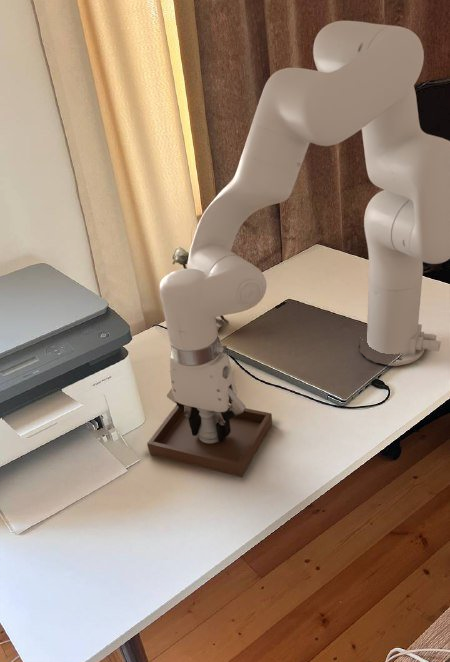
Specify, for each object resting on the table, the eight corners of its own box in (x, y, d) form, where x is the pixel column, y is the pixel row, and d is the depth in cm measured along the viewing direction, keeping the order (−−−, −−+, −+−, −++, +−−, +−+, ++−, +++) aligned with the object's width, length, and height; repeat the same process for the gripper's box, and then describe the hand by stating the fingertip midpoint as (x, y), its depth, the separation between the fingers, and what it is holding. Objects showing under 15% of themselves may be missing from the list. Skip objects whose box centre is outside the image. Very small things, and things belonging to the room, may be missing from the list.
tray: (272, 424, 112) (271, 413, 110) (242, 477, 103) (240, 466, 101) (185, 406, 119) (183, 395, 117) (149, 454, 110) (146, 443, 108)
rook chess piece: (195, 443, 110) (188, 408, 105) (204, 426, 113) (197, 391, 108) (219, 447, 108) (213, 411, 103) (227, 429, 111) (222, 394, 106)
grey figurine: (214, 344, 134) (201, 258, 121) (175, 330, 140) (158, 247, 128) (237, 326, 138) (226, 241, 126) (198, 313, 145) (184, 231, 132)
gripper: (254, 341, 98) (264, 429, 109) (160, 327, 104) (179, 411, 116) (234, 369, 93) (246, 458, 104) (137, 352, 99) (159, 437, 111)
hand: (211, 432), depth 110 cm, fingers closed on rook chess piece, 4 cm apart
